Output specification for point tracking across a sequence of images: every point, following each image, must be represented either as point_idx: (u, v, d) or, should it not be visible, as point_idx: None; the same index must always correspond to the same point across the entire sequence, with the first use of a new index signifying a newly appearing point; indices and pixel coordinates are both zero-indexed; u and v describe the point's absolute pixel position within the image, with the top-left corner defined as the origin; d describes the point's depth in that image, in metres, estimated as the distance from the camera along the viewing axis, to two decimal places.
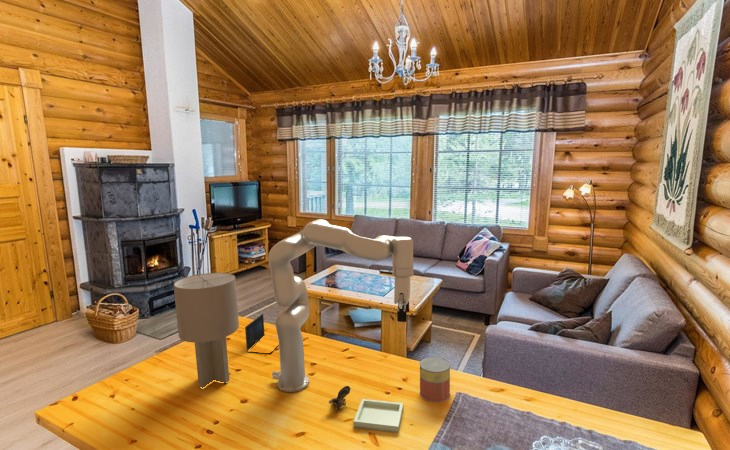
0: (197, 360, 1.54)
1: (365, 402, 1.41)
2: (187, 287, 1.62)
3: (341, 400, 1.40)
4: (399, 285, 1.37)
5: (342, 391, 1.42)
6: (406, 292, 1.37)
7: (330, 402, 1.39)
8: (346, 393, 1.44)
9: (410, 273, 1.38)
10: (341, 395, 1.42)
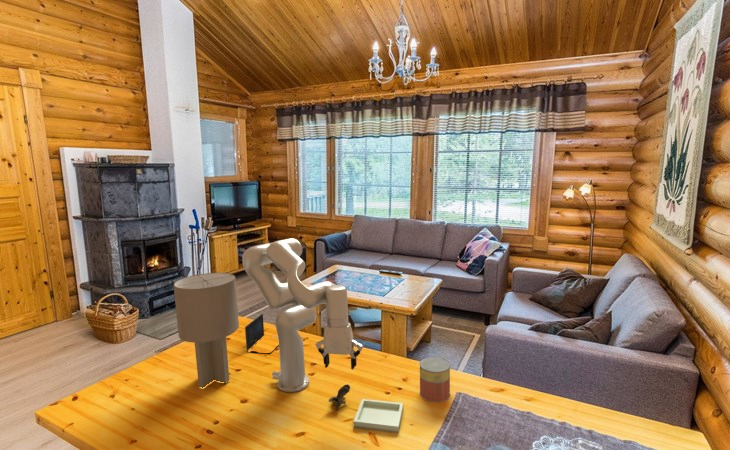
0: (197, 360, 1.54)
1: (365, 402, 1.41)
2: (187, 287, 1.62)
3: (341, 398, 1.41)
4: (351, 333, 1.36)
5: (342, 390, 1.43)
6: None
7: (330, 400, 1.40)
8: (346, 392, 1.45)
9: None
10: (341, 394, 1.43)
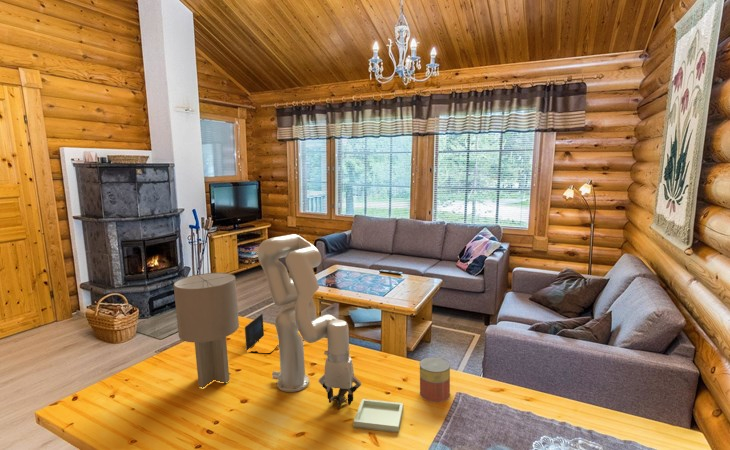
0: (197, 360, 1.54)
1: (365, 402, 1.41)
2: (187, 287, 1.62)
3: (342, 397, 1.42)
4: (351, 367, 1.38)
5: None
6: None
7: (331, 399, 1.40)
8: (347, 390, 1.45)
9: None
10: (342, 392, 1.44)
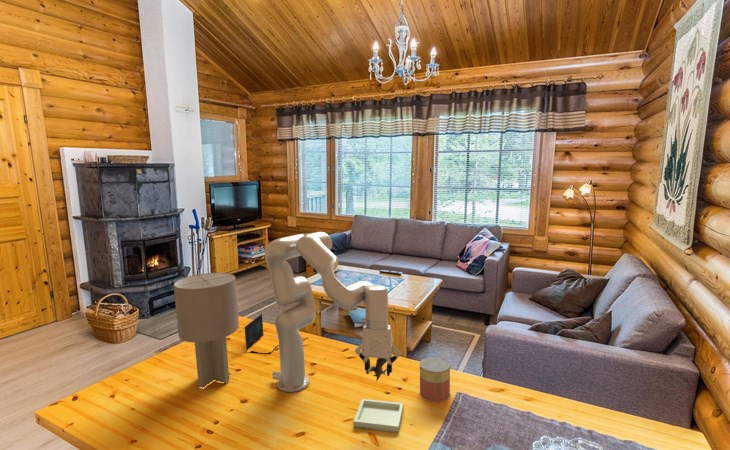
0: (197, 360, 1.54)
1: (365, 402, 1.41)
2: (187, 287, 1.62)
3: (380, 368, 1.33)
4: (391, 335, 1.28)
5: (380, 359, 1.35)
6: None
7: (369, 370, 1.31)
8: (384, 361, 1.36)
9: None
10: (379, 364, 1.34)
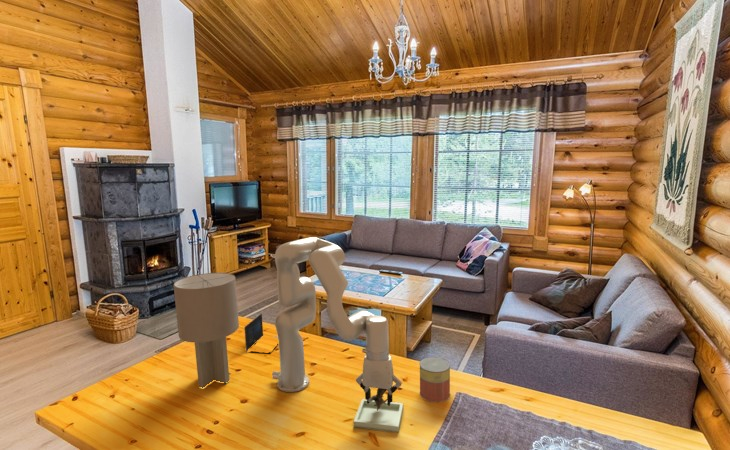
0: (197, 360, 1.54)
1: (365, 402, 1.41)
2: (187, 287, 1.62)
3: (381, 397, 1.34)
4: (391, 366, 1.30)
5: (380, 388, 1.36)
6: None
7: (370, 400, 1.33)
8: (385, 390, 1.38)
9: None
10: (380, 393, 1.36)
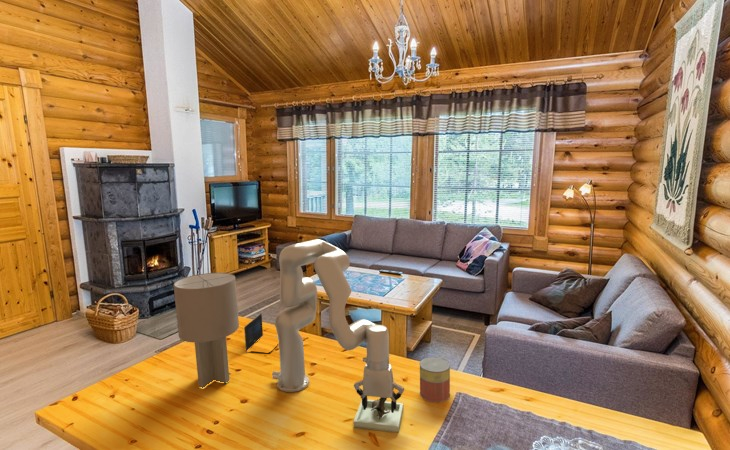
0: (197, 360, 1.54)
1: None
2: (187, 287, 1.62)
3: (382, 406, 1.34)
4: (392, 375, 1.30)
5: None
6: None
7: (372, 409, 1.32)
8: None
9: None
10: (382, 400, 1.35)
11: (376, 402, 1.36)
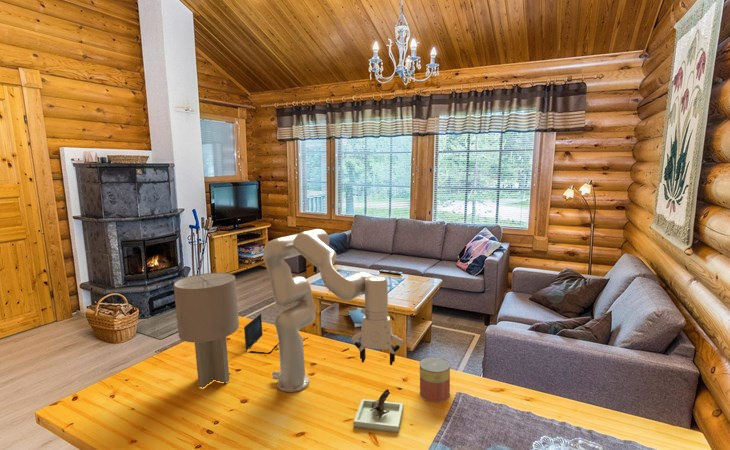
0: (197, 360, 1.54)
1: (365, 402, 1.41)
2: (187, 287, 1.62)
3: (382, 406, 1.34)
4: (390, 326, 1.28)
5: (382, 396, 1.36)
6: None
7: (371, 410, 1.32)
8: (386, 397, 1.37)
9: None
10: (381, 400, 1.36)
11: (376, 402, 1.36)
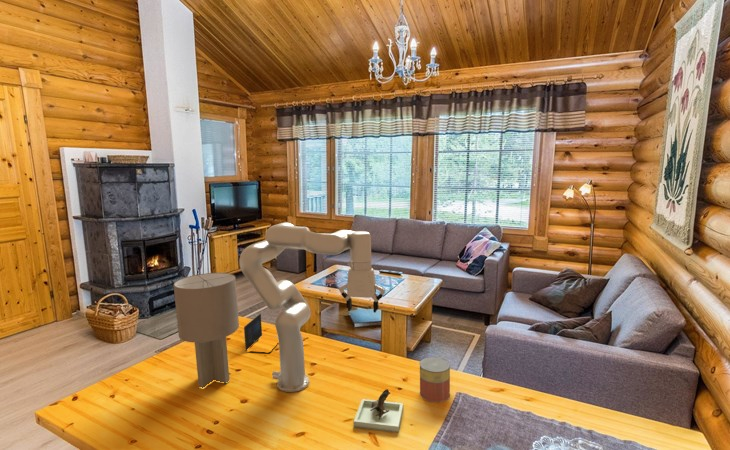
0: (197, 360, 1.54)
1: (365, 402, 1.41)
2: (187, 287, 1.62)
3: (382, 406, 1.34)
4: (374, 276, 1.41)
5: (381, 396, 1.36)
6: None
7: (371, 410, 1.33)
8: (385, 396, 1.37)
9: None
10: (381, 400, 1.36)
11: (375, 402, 1.37)
